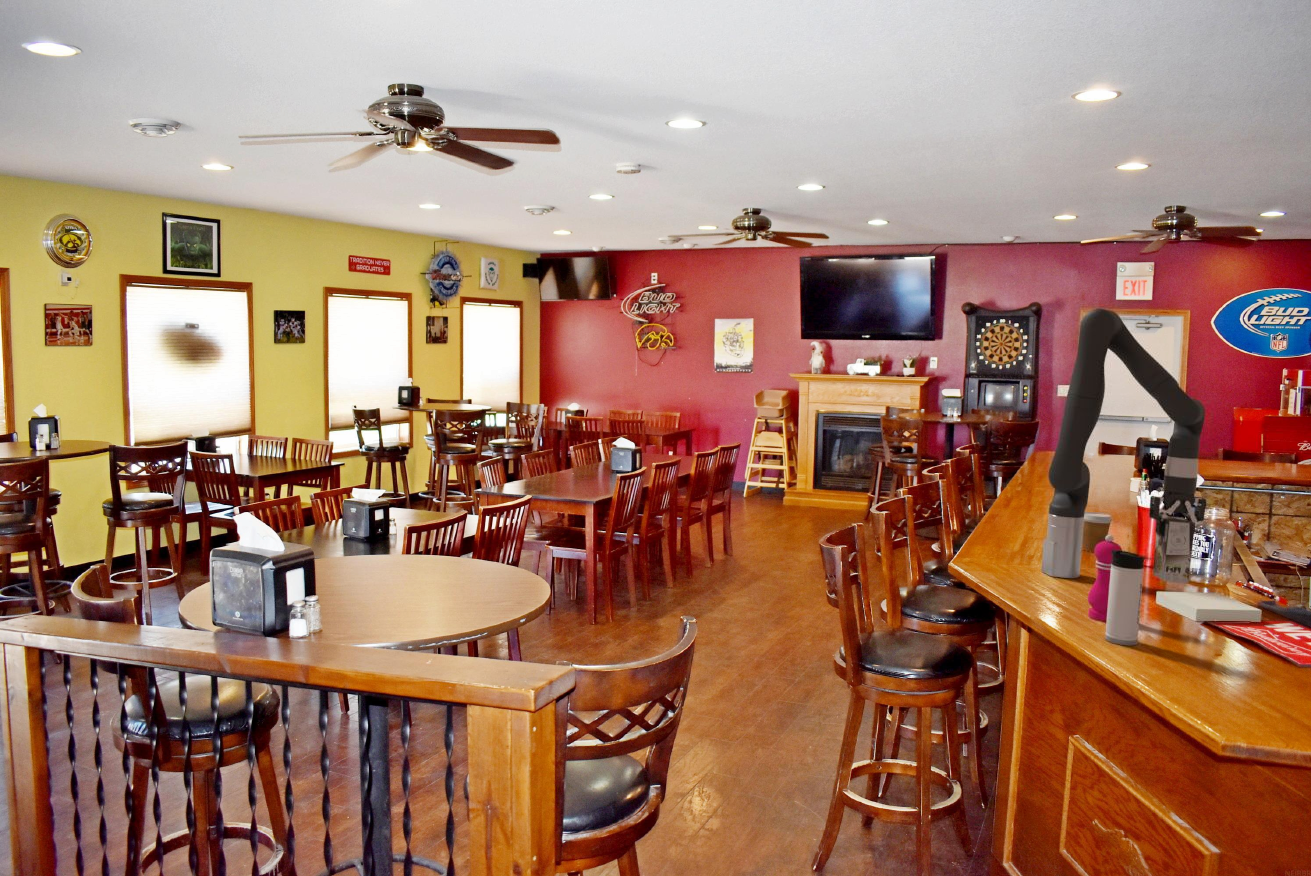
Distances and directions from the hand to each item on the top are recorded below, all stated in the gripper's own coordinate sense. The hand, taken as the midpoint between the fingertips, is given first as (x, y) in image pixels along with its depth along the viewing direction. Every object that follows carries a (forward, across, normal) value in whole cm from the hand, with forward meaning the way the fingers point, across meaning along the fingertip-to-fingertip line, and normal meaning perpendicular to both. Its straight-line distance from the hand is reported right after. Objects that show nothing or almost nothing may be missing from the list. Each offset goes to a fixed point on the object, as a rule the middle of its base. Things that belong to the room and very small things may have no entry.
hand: (1174, 536), depth 244 cm
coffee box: (+12, 0, 0) cm, 12 cm away
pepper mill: (+16, +32, +25) cm, 44 cm away
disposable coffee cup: (+16, -8, -54) cm, 57 cm away
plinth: (+15, +2, +18) cm, 24 cm away
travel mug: (+16, +38, +43) cm, 60 cm away
